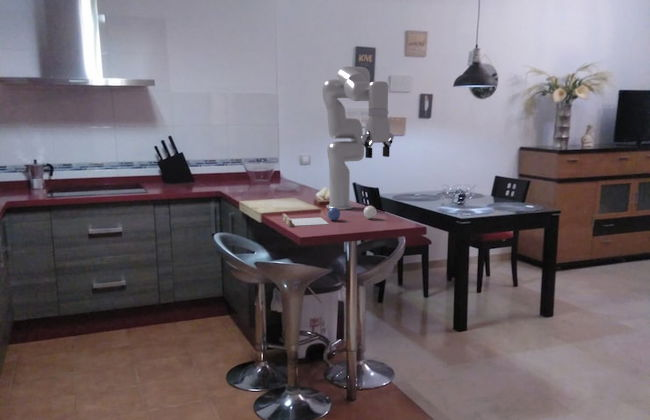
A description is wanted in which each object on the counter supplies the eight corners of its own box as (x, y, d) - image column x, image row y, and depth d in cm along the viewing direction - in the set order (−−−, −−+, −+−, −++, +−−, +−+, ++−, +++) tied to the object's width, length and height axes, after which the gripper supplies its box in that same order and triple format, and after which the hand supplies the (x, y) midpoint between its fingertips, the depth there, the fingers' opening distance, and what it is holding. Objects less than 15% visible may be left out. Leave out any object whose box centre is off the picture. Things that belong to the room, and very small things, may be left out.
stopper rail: (282, 219, 228) (282, 213, 227) (284, 219, 228) (284, 213, 228) (289, 226, 213) (289, 220, 212) (292, 226, 213) (291, 220, 212)
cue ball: (361, 217, 231) (361, 205, 230) (373, 217, 232) (374, 204, 231) (365, 220, 226) (366, 207, 225) (378, 219, 227) (378, 206, 226)
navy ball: (325, 219, 227) (325, 206, 226) (338, 218, 229) (338, 206, 228) (329, 222, 222) (329, 209, 221) (342, 221, 223) (342, 208, 222)
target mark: (288, 219, 228) (288, 219, 227) (320, 217, 231) (320, 217, 231) (295, 226, 214) (295, 225, 214) (329, 224, 218) (329, 223, 218)
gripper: (386, 113, 219) (385, 155, 222) (355, 113, 208) (355, 157, 211) (400, 113, 213) (399, 156, 216) (369, 113, 202) (368, 158, 205)
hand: (377, 157), depth 213 cm, fingers open, 9 cm apart
